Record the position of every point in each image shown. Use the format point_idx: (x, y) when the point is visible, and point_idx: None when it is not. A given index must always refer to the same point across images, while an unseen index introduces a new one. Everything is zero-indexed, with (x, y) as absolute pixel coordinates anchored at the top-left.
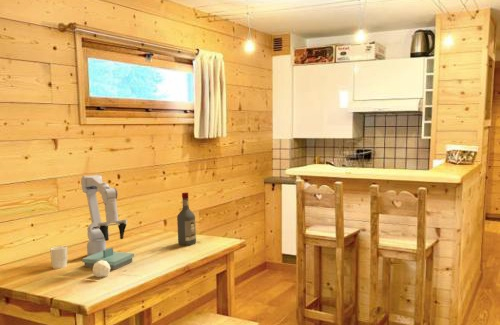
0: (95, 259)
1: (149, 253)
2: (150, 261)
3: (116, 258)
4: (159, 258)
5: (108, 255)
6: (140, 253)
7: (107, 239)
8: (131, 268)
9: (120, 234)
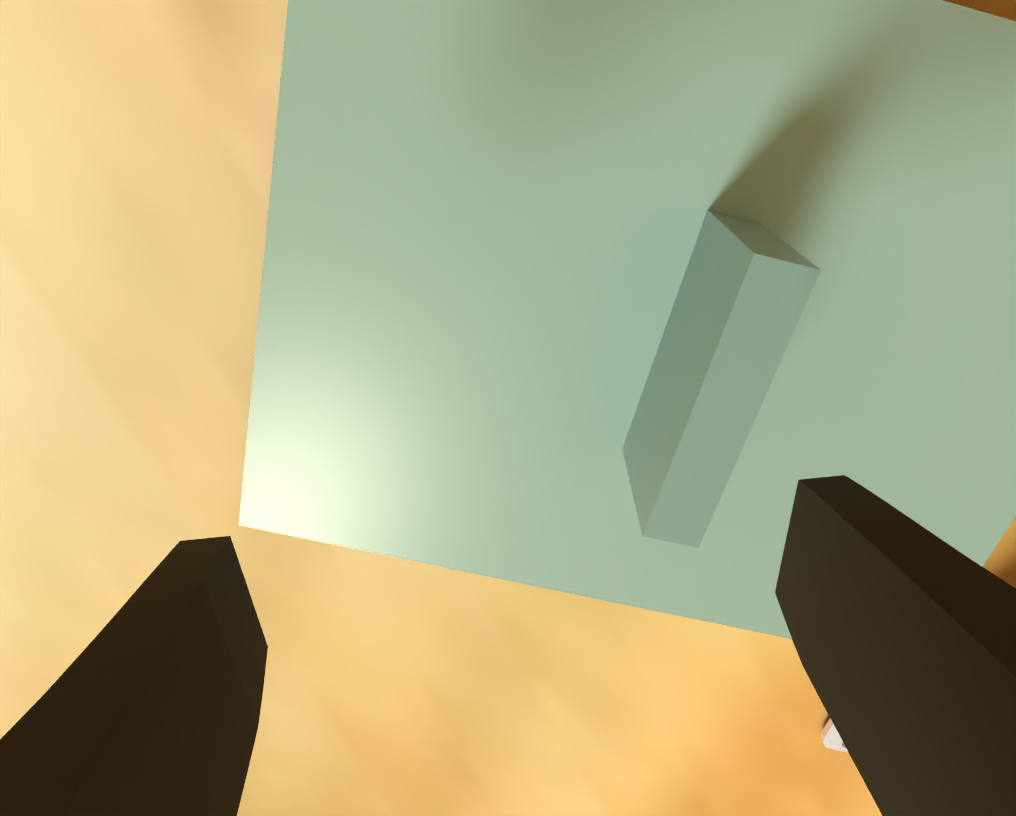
0: (915, 42)
1: (316, 799)
2: (85, 506)
3: (412, 160)
4: (49, 629)
5: (674, 318)
6: (433, 798)
7: (807, 558)
8: (158, 131)
9: (109, 677)
